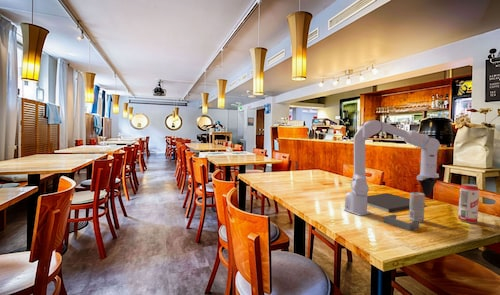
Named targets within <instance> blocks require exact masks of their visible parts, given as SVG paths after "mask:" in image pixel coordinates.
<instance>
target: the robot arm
mask: <svg viewBox="0 0 500 295" xmlns="http://www.w3.org/2000/svg"><path fill="white" fill-rule="evenodd" d="M379 133H388V134H390V135H393V136H396V137H398V138H402V139H403V141H404V142H405V143H407V144H410V145H412V146H414V147H418V148H419V149H421V151H420V154H421V155H420V168H419V169H420V172H419V174H418V175H416V180H417V181H418V182H419V184H420V185H421V188H422V193H423V194H424V195H425V196H431V195H432V191H433V188H434V186H435V185H436V183H438V179H439V178H440V176H439V175H440V174H439V173H437V163H438V160H437V159H438V150H440V148H441V145H442V144H440V141H439V140H438V139H436V138H434V137H429V135H427V134H425V135H424V134H422V133H419V132H418V130H417V129H416V130H408V131H406V130H403V129H402V128H399V127H397V126H394V125H392V124H390V123H388V122H384V121H381V120H380V121H379V120H378V119H377V120H376V119H371V120H367V121H364V122H363V123H362V124H360V125H359V127H358V130H357V131H356V133H355V134H354V135H353V175H352V181H351V182H350V188H351V189H352V190H351V191H348V192H347V193H346V195H345V196H344V197H345V199H344V202H345V203H344V208H343V211H344V212H348V213H352V214H353V215H358V216H359V217H361V216H365V215H369V214H372V212H371V211H370V210H369V211H368V205H367V196H369V194H368V192H369V191H370V188H369V185H368V183H367V177H366V141H367V140H368V139H370V137H372V136H373V135H376V134H379Z"/></svg>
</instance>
